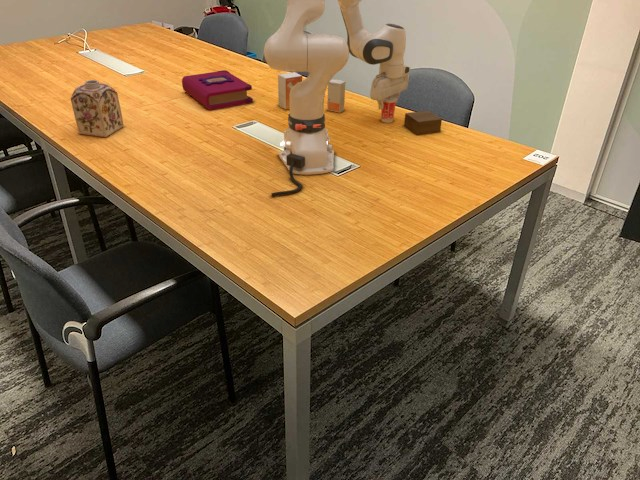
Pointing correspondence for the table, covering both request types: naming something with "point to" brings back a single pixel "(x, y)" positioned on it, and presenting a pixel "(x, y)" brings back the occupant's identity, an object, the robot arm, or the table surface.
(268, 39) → the robot arm
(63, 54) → the table surface
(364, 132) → the table surface
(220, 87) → the book
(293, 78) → the small box
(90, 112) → the decorative jar
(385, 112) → the beverage cup
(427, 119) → the walnut block
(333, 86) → the cosmetic box
